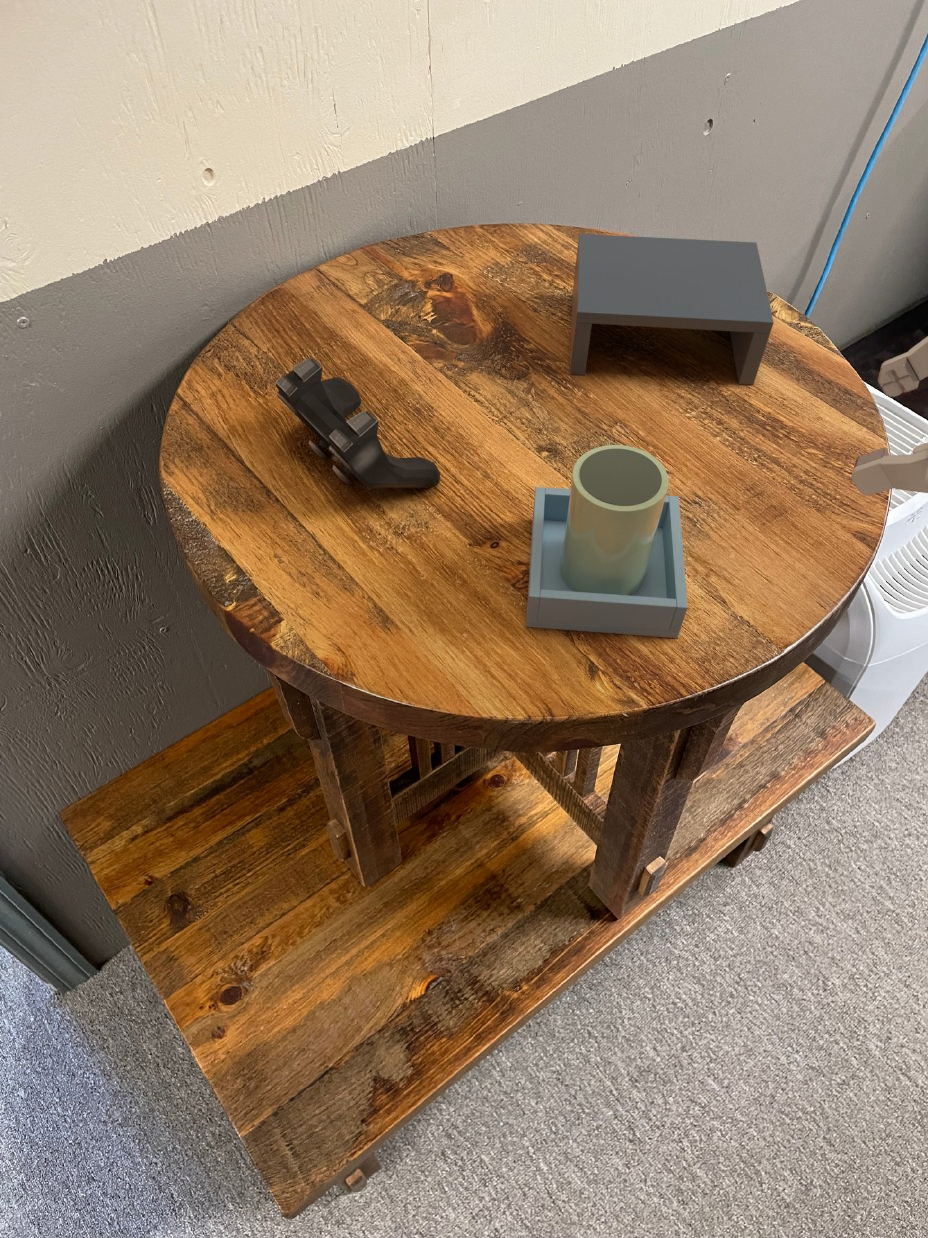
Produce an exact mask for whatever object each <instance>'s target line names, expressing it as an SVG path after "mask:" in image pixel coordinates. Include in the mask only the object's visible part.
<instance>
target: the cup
mask: <svg viewBox="0 0 928 1238" xmlns="http://www.w3.org/2000/svg"><path fill="white" fill-rule="evenodd" d="M669 479H670V478H669V475H668V472H667V469H666V468H665V467H664V465H663V464H662V463H661V461H660V460H659V459H657V458H656V457H655V456H653V455H652V454H650V453H649V452H647V451H645V450H643V449H640V448H637V447H633V446H631V445H630V446H629V445H622V444H608V445H607V444H606V445H602V446H601V445H600V446H598V447H594V448H592V449H590V450H588V451H586V452H584V453H583V454H582V455H581V456H580V457H578V459H577V460H576V461H575V463H574V465H573V468H572V473H571V481H570V487H569V489H570V494H569V502H568V509H567V517H566V524H565V531H564V539H563V546H562V554H561V561H560V571H561V575H562V578H563V579H564V581H565V583H566V584H567V585H568V586H569V587H570V588H571V589H572V590H573V591H574V592H586V593H600V594H614V595H628V596H631V595H633V594H634V593H635V592H637V591H638V589H639V588H640V587H641V586H642V584H643V582H644V579H645V575H646V571H647V567H648V563H649V559H650V555H651V552H652V548H653V544H654V540H655V536H656V532H657V528H658V524H659V521H660V517H661V513H662V509H663V505H664V501H665V497H666V495H667V494H668V490H669V482H670V480H669Z"/></svg>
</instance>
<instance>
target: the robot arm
mask: <svg viewBox="0 0 928 1238" xmlns="http://www.w3.org/2000/svg"><path fill="white" fill-rule="evenodd" d="M925 378H928V335H927V336H926V337H925V338H923V339H922V340H921V341H920V342H918V343H916V344H915V345H914V346H912V347H911V348H910V349H909V350H908V351H907V352H904V353H902V354H900V355H897V356H894V357H892V358H889V359H887V360H884V361H883V362H882V363H881V366H880V369H879V373H878V376H877V383H878V385H879V386H880V387H881V389H882V392H883V393H884V394H885V396H886V397H889V398H896V397H898V396H900V395H901V394H903V393H908V392H909V393H910V392H911V391H914V390H917V389H918V388H919V384H920V381H922V380H924V379H925ZM851 480H852V483H853V484H854V486H855V487H856V489H857V490H858V492H859V493H860V494H861V495H863V496H872V495H875V494H879V493H883V492H886V491H889V490H893V489H895V490H900V491H906V492H907V491H908V492H915V493H922V494H928V442H925V443H922V444H919V445H916V446H915V447H914V448H913V449H912V454H895V455H894V454H893V455H890V454H889V452H888V451H887V449H886V447H882V448H878V449H875V450H873V451H871V452H869V453H868V454H867V453H863V454H860V455H859V456H858V457H856V460H855V463H854V466H853V469H852V472H851Z"/></svg>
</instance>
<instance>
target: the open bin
mask: <svg viewBox="0 0 928 1238" xmlns="http://www.w3.org/2000/svg"><path fill="white" fill-rule="evenodd" d="M569 494H570V488H560V487H545V486H535V489H534V499H533V500H534V501H533V511H532V522H531V523H532V524H531V539H530V554H529V555H530V556H529V571H528V573H529V574H528V587H527V603H526V617H525V618H526V620H525V627H526V628H535V629H547V630H548V629H549V630H550V629H551V630H562V631H576V632H589V633H604V634H617V635H630V636H644V637H656V638H657V637H658V638H669V639H678V638H679V635H680V632H681V629H682V626H683V623H684V621H685V617H686V614H687V611H688V609H689V607H688V594H687V593H688V592H687V582H686V570H685V569H686V568H685V558H684V546H683V535H682V533H683V532H682V521H681V509H680V508H681V507H680V497H679V495H669V494H668V495H667V494H666V497H665V501H664V505H663V509H662V513H661V517H660V521H659V524H658V528H657V532H656V536H655V540H654V544H653V548H652V552H651V555H650V559H649V563H648V567H647V571H646V575H645V579H644V582H643V584H642V586H641V587H640V588H639V589H638V591H637V592H635V593H634V594H633V595H631V596H628V595H614V594H600V593H586V592H574V591H573V590H572V589H571V588H570V587H569V586H568V585H567V584H566V583H565V581H564V579H563V578H562V575H561V571H560V561H561V554H562V546H563V539H564V531H565V524H566V517H567V509H568V502H569Z"/></svg>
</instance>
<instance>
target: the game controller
mask: <svg viewBox="0 0 928 1238" xmlns="http://www.w3.org/2000/svg"><path fill="white" fill-rule="evenodd" d="M291 369H292V370H291V371H289V372H288V373H287V374H285V375H284V374H282V375H281V376H280V377H279V378H278V379H277V380H276V381H275V383H276V384H275V386H276V388H277V390H278V391H277V394H276V396H277V398H278V399H279V400H280V401H281V402H282V403H283V404H284V405H285V406H286V407H287V408H288V409H289V410H290V411H291V412H292V413H293V414H294V416H296V417H297V418H298V419H299V420H300V421H301V422H302V423H303V424H304V425H305V426H306V427H307V428H308V429H309V430H310V431H311V432H312V433H313V434H314V435H315V436H317V438H318V439H319V440H320V441H319V442H318V443H317V444H316V443H315V442H314V441H313V440H311V439H308V445H309V447H310V448H311V450H312V451H313V452H314V454H316V455H317V456H319V458H322V459H324V460H326V459H328V458H329V457H328V455H327V454H326V453H325V452H324V450H325V449H326V448H328V451H329V452H330V453H332V455H333V456H334V457H335V458H336V459H337V460H338V461H339V462H340V463H341V464H342V465H343V467H342V469H340V468H339V467H337V466H336V465H335V464H332V471H333V472H334V473H335V475H336V476H337V478H338V479H339V480H341V481H342V482H344V483H345V484H346V485H351V484H353V481H351V479H350V478H349V477H348V475H350V473H351V474H352V475H354V477H355V478H356V479H357V480H358V481H359V482H360V483H361V484H362V485H363V486H364V487H365V488H367V489H368V491H371V490H373V489H428V488H433V487H437V486H438V485H439V484H440V483H441V472H440V470H439V468H438V466H437V465H436V463H435V462H434V461H432V460H429V459H426V458H425V457H422V456H414V457H413V456H411V457H397V456H394V455H390V454H387V453H385V451H384V448H383V447H382V444H381V442H380V438H379V437H378V429H379V421H380V420H379V419H378V418H376V416H375V415H373V413H372V412H371V411H369V410H367V411H365V410H362V411H361V412H359V413H358V414H356V415H355V416H353V417H351V418H349V419H348V420H347V419H346V418H345V417H346V416H348V415H350V414H352V413H353V412H355V411H357V410H358V409H359V408H360V407H361V404H362V399H361V397H360V394H359V392H358V390H356V388H355V387H354V385H352V384H351V383H350V382H349V381H348V380H346V379H344V378H341V377H331V378H328V379H323V380H322V378H323V377H322V376H323V366H322V365H321V364H320V363H319V362H318V361H317V360H316V359H315V358H311V359H310V358H309V357H308V358H306V359H305V360H302V361H301V362H299V363H297V364H296V365H295V366H293V367H291Z"/></svg>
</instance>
